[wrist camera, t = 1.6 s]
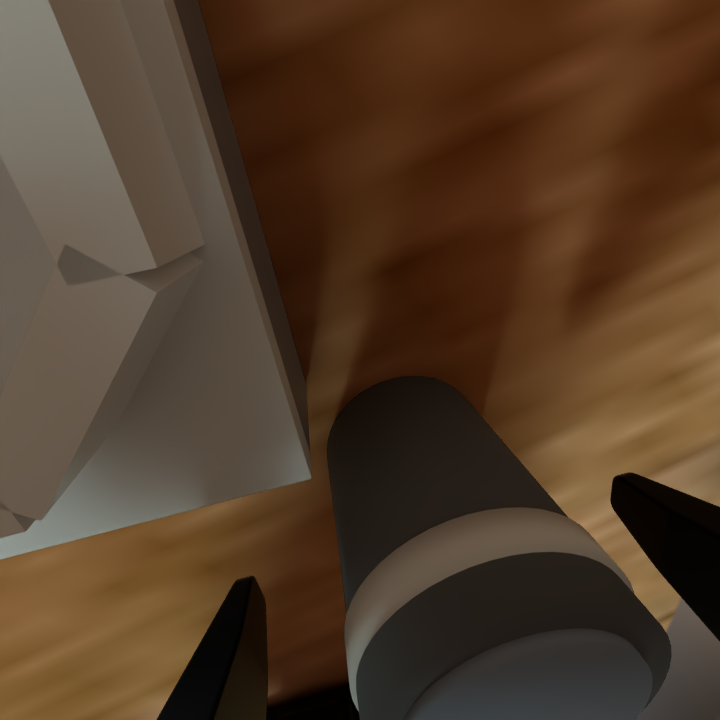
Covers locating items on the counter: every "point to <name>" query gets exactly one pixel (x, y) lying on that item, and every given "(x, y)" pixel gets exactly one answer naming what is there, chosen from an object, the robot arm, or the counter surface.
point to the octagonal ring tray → (131, 280)
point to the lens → (474, 575)
